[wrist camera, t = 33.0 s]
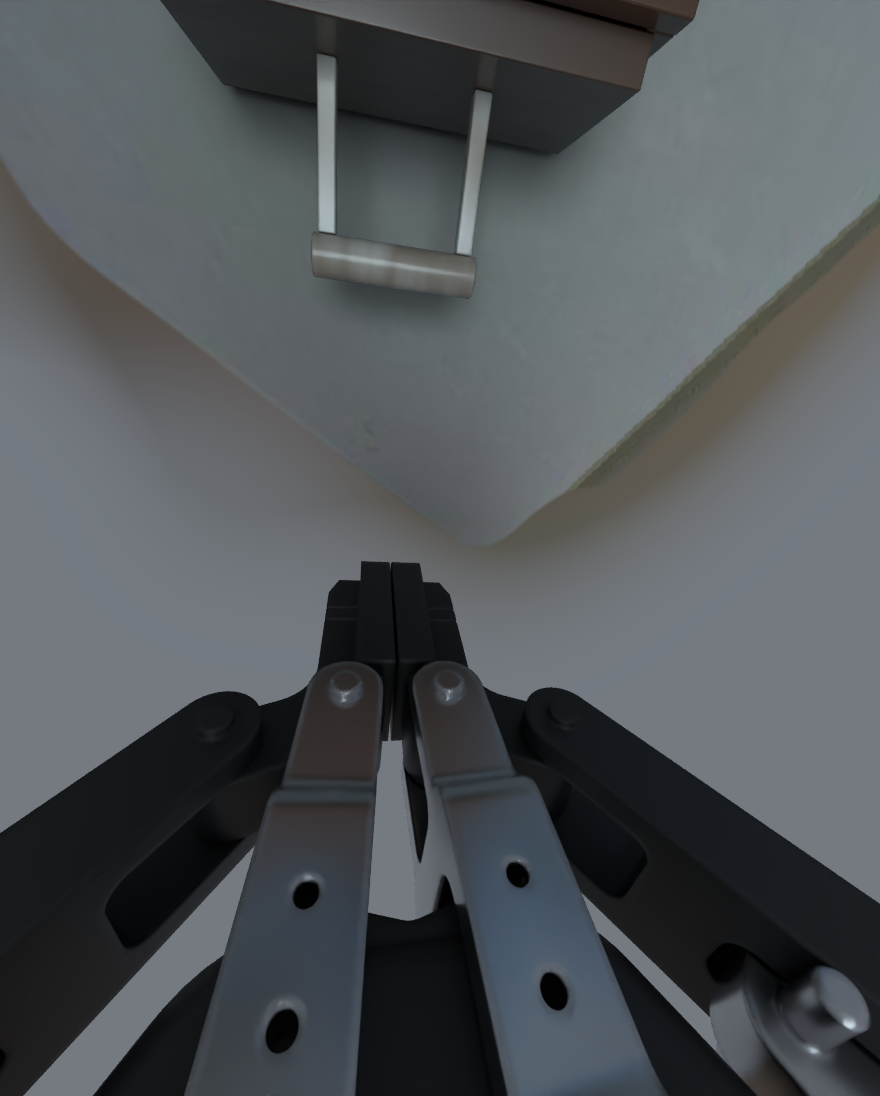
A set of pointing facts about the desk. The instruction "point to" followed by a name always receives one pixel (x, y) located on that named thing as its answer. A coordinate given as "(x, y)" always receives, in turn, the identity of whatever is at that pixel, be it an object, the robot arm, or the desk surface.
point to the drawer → (422, 93)
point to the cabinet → (641, 15)
